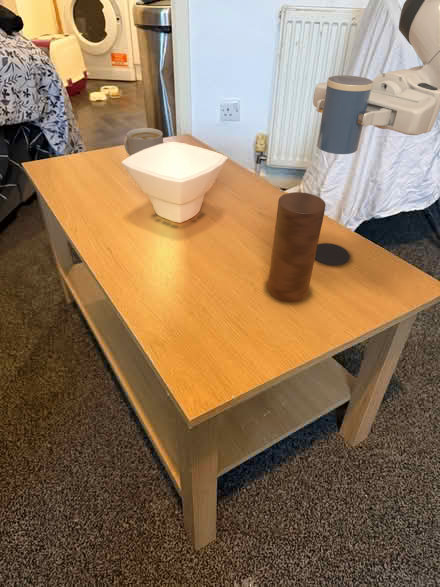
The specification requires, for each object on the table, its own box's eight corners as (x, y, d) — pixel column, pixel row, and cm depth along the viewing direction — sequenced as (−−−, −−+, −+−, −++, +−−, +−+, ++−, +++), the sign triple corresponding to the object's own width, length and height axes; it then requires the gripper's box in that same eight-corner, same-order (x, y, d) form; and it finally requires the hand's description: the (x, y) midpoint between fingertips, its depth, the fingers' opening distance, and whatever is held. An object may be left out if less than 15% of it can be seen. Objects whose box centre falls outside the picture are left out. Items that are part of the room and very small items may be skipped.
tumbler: (357, 142, 69) (372, 77, 63) (358, 156, 64) (374, 86, 58) (317, 138, 71) (328, 73, 64) (315, 152, 66) (326, 83, 59)
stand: (308, 280, 80) (325, 194, 69) (307, 304, 74) (325, 215, 63) (269, 275, 81) (280, 189, 70) (265, 298, 75) (276, 210, 64)
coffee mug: (171, 169, 121) (169, 134, 115) (143, 177, 116) (139, 142, 109) (146, 156, 129) (143, 122, 122) (118, 163, 123) (113, 129, 117)
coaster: (348, 247, 90) (348, 245, 89) (349, 267, 84) (350, 266, 83) (311, 242, 91) (311, 241, 91) (310, 262, 85) (310, 261, 84)
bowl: (172, 191, 109) (169, 138, 101) (232, 212, 101) (235, 156, 92) (121, 218, 97) (113, 160, 88) (185, 245, 89) (182, 184, 80)
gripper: (346, 68, 75) (293, 77, 68) (454, 92, 62) (404, 106, 56) (338, 105, 79) (288, 117, 72) (439, 134, 66) (391, 152, 60)
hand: (340, 113), depth 64 cm, fingers closed on tumbler, 6 cm apart
